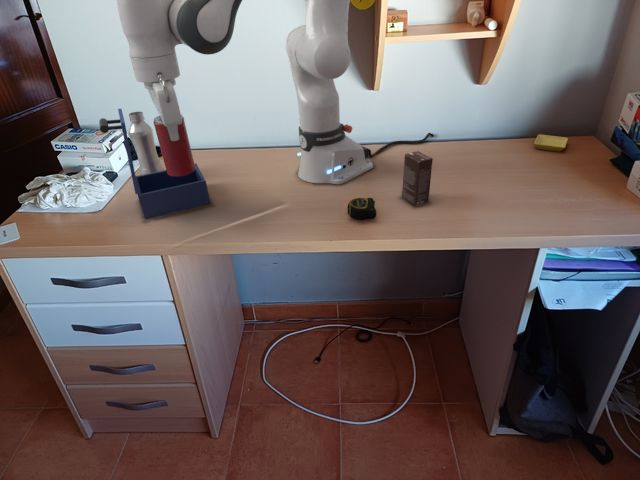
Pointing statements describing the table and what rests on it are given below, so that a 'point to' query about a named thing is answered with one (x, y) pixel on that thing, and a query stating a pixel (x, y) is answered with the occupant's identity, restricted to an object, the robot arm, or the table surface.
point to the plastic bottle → (144, 144)
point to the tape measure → (362, 209)
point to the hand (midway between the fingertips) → (172, 134)
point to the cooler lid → (105, 128)
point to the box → (417, 178)
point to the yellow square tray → (550, 142)
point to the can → (175, 149)
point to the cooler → (171, 192)
